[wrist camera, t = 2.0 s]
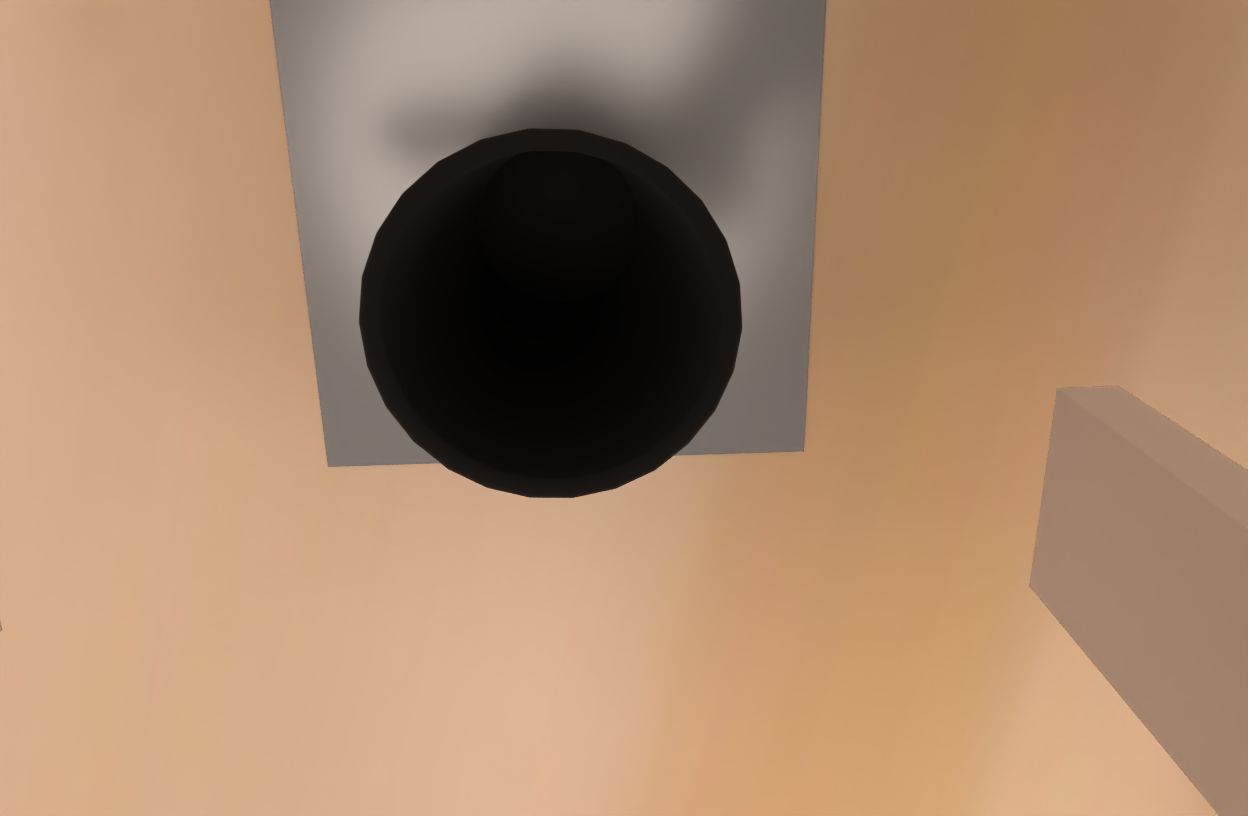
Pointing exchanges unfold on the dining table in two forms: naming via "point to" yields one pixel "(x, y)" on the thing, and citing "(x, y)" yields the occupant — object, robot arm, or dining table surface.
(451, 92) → the tile
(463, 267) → the cup
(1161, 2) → the dining table surface
